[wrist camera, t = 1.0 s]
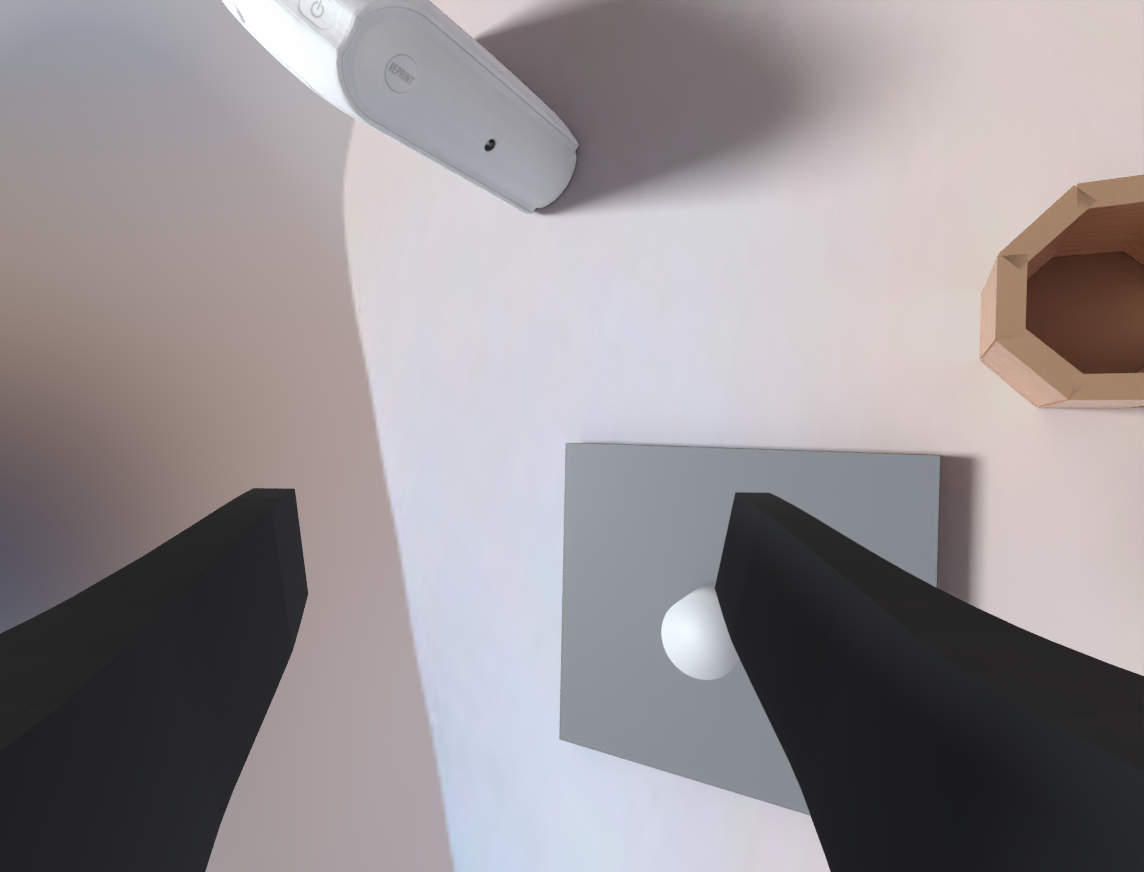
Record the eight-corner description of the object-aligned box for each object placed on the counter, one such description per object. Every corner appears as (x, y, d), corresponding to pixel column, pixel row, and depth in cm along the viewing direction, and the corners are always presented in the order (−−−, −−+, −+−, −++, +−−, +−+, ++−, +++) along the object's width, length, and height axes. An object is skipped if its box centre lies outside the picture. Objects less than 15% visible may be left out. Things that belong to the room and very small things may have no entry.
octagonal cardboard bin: (1207, 220, 17) (1295, 153, 13) (1200, 408, 17) (1286, 399, 13) (983, 244, 19) (999, 194, 15) (978, 407, 19) (992, 400, 15)
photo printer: (601, 146, 26) (366, -67, 15) (540, 233, 27) (285, 99, 16) (457, 31, 29) (185, -206, 18) (410, 114, 31) (133, -61, 20)
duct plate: (939, 455, 20) (942, 458, 17) (928, 833, 20) (929, 905, 17) (577, 442, 26) (531, 443, 23) (571, 729, 26) (525, 767, 23)
